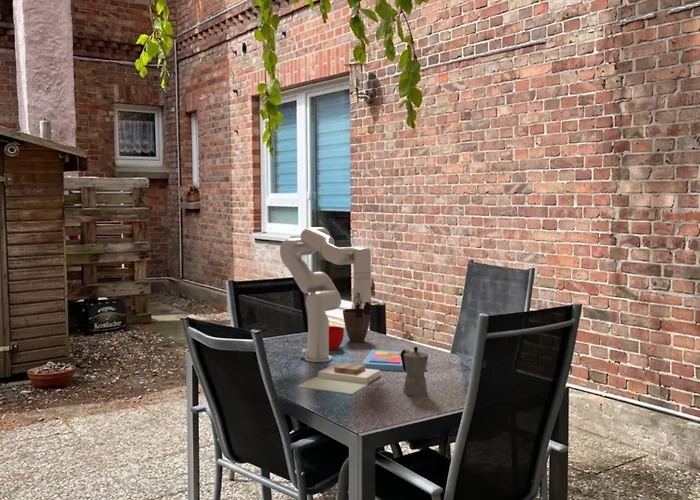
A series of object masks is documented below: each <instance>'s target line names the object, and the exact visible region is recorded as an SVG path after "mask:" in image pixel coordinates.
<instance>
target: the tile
mask: <svg viewBox="0 0 700 500" xmlns="http://www.w3.org/2000/svg"><path fill="white" fill-rule="evenodd" d="M337 365H338V366H336V367H334V372H340V373H348V374H358V373H360V372H362V371H364V370H365V365H361V363H352V362H351V363H350V362H342V363H340V364H337Z"/></svg>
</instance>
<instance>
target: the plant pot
mask: <svg viewBox="0 0 700 500" xmlns="http://www.w3.org/2000/svg"><path fill="white" fill-rule="evenodd" d="M362 313H363V317H362V318H356V317H355V308H346V309H343V310H342V317H343V322H344V327H345V331H346V334H347V337H348V340H349V342H351V343H363V342H365V340H366V337H367V333H368V331H369V326H370V323H371V317H372V313H371V314H370V315H369V314H364V308H362Z"/></svg>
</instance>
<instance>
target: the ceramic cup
mask: <svg viewBox="0 0 700 500" xmlns="http://www.w3.org/2000/svg"><path fill="white" fill-rule="evenodd" d="M344 333H345V328H344V327H342V326H335V325H331V326H330V325H329V351H336V350H338V349H339V348H340V346H341V345H342V343H343V340H344V335H345V334H344ZM335 349H336V350H335Z"/></svg>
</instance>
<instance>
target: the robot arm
mask: <svg viewBox="0 0 700 500" xmlns="http://www.w3.org/2000/svg"><path fill="white" fill-rule="evenodd" d="M279 246H280V247H279V255H280V259H281V261H282V263H283V264H284V266H285V267H286V268H287V269H288V271H289V273H290V275H291V276H292V277H293V279H294V281H295V282H296V285H297V286H298V287H299V290H300V292H302V293H304V294H307V296H306V299H305V306H306V311H307V328H308V329H307V330H308V331H307V338H308V339H307V340H308V341H307V342H308V343H307V345H308V346H307V349H306V348H302V349H301V351H300V353H301V354H304V355H305V356H304V360H305V361H307V362H311V363H326V362H330V361H332V360H333V356H332V355H330V350H329V326H330V321H329V317H328V315H327V313H326V312H329V311H334V310H337V309H338V308H339V307H340V306H341V304H342V297H341V294H340V291H338V289H337V287H336V286H335V284H334V282H333V281H332V279H331V278H330V276H329V275H328V274H327V273H326V272H324V271H312V270H311V269H310V268H309V265H308V264H307V263H306V261H304V260H303V259H302V258H300V257H301V256H302V257H303V256H310V255H313V254H314V253H316V252H319V253H320V254H321V256H322V257H323V259H325V260H326V261H328V262H330V263H332V264H334V265H338V266H342V265H343V266H344V265H353V287H352V288H353V289H352V291H353V293H352V294H353V295H352V302H353V305H354V309H355V317H356V318H362V317H363V313H362V309H364V314H369V315H370V314H371V315H372V285H371V280H372V257H371V255H372V253H371V249H370V248H369V247H357V246H345V247H344V246H343V247H341V246H340V247H338V246H335V239H334V238H333V237H332V236H331V234H330V232H329V230H328V229H327V228H325V227H323V226H322V227H318V226H317V227H307V228H305V229H303V230H302V232H301V233H300V237H295V238H294V237H292V238H288V239H285V240H283V242H281V244H280V245H279Z"/></svg>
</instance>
